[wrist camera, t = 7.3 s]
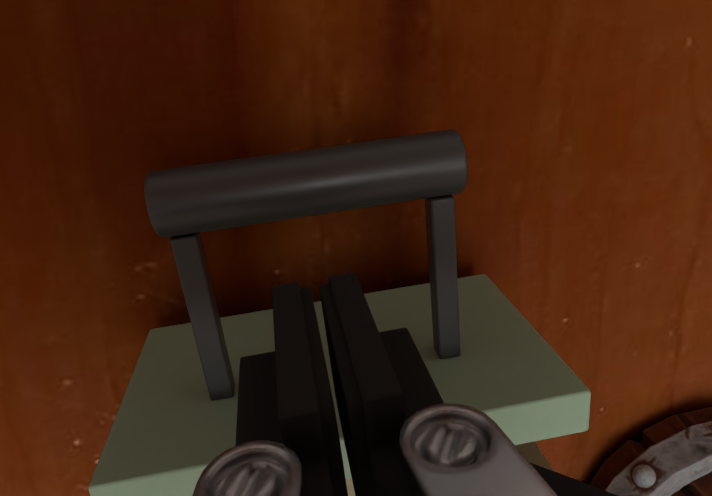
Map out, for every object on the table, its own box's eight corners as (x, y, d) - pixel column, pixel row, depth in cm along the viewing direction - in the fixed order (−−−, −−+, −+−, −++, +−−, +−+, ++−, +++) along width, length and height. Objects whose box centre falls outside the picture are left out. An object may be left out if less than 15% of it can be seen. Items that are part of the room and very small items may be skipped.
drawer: (97, 147, 16) (-17, 225, 9) (481, 96, 17) (610, 135, 10) (229, 606, 23) (215, 821, 17) (490, 549, 24) (568, 730, 18)
